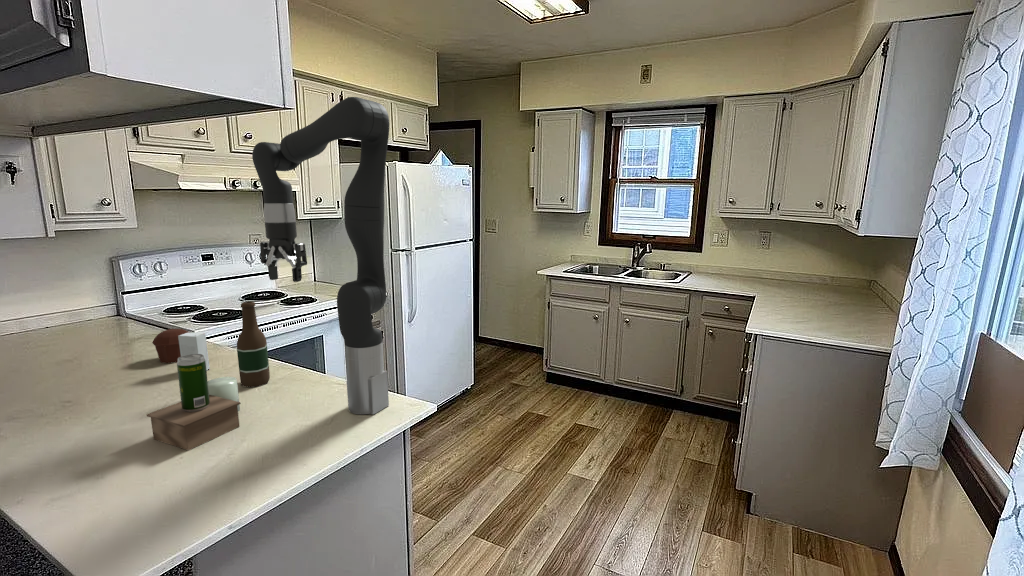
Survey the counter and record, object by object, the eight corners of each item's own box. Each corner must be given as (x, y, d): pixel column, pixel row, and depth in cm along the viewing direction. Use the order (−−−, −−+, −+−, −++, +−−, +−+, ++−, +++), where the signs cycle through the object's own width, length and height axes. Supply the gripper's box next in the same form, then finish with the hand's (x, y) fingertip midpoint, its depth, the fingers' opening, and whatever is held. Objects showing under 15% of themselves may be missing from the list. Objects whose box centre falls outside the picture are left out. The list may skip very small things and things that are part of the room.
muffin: (147, 365, 157) (142, 335, 155) (166, 354, 167) (162, 326, 166) (186, 363, 158) (183, 333, 156) (203, 353, 169) (200, 325, 167)
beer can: (215, 406, 112) (210, 355, 110) (190, 414, 107) (185, 362, 105) (201, 401, 114) (196, 352, 112) (176, 409, 110) (170, 358, 107)
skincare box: (210, 369, 153) (206, 332, 151) (200, 374, 149) (196, 336, 146) (192, 368, 153) (187, 332, 151) (182, 373, 149) (177, 335, 147)
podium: (242, 426, 115) (240, 402, 114) (187, 452, 103) (184, 425, 102) (206, 416, 120) (203, 393, 119) (149, 439, 108) (146, 414, 107)
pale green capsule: (246, 408, 124) (243, 379, 123) (220, 420, 118) (216, 389, 117) (227, 404, 127) (224, 375, 126) (201, 415, 121) (197, 384, 119)
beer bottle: (243, 390, 136) (235, 306, 132) (238, 382, 142) (229, 301, 138) (273, 383, 141) (266, 302, 137) (266, 375, 147) (259, 298, 143)
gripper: (311, 220, 130) (315, 280, 133) (272, 219, 136) (277, 277, 139) (288, 221, 124) (294, 284, 127) (248, 220, 129) (254, 281, 132)
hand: (285, 280), depth 133 cm, fingers open, 8 cm apart
